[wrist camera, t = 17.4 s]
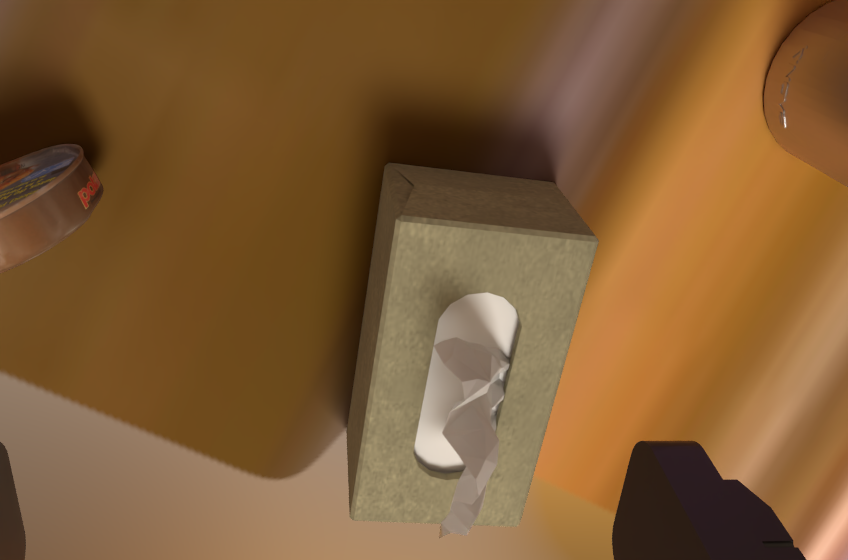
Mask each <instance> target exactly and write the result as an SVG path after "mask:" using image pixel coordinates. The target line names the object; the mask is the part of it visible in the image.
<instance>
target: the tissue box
mask: <svg viewBox="0 0 848 560" xmlns="http://www.w3.org/2000/svg"><path fill="white" fill-rule="evenodd" d="M598 242H599V241H598V239H597V238H596V236H595V235H594V234H593V232H592V231H591V230H590V228H589V227H588V226H587V225H586V223H585V222H584V221H583V219H582V218H581V217H580V216H579V214H578V213H577V212H576V210H575V209H574V208H573V207H572V205H571V204H570V203H569V201H568V200H567V199H566V197H565V196H564V195H563V194H562V192H561V191H560V190H559V188H558V187H557V186H556V185H555V183H554V182H547V181H539V180H531V179H522V178H514V177H506V176H497V175H489V174H481V173H472V172H464V171H456V170H447V169H439V168H430V167H422V166H414V165H405V164H397V163H388V164H387V165H385V167H384V174H383V181H382V188H381V195H380V202H379V209H378V216H377V223H376V230H375V237H374V244H373V251H372V258H371V265H370V272H369V279H368V286H367V293H366V300H365V307H364V314H363V321H362V328H361V335H360V342H359V349H358V356H357V363H356V370H355V377H354V383H353V390H352V397H351V404H350V411H349V418H348V425H347V455H348V482H349V507H350V518H351V519H352V520H355V521H380V522H405V523H430V524H441V526H440V535H439V538H441V537H443V536H445V535H447V534H449V533H456V534H461V535H467V534H468V532H469V531H470V529H471V527H472V525H480V526H505V527H517V526H518V525H519V524H520V520H521V518H522V514H523V510H524V507H525V503H526V500H527V496H528V492H529V489H530V485H531V482H532V478H533V475H534V471H535V467H536V464H537V460H538V457H539V453H540V449H541V446H542V442H543V439H544V435H545V432H546V428H547V424H548V421H549V417H550V414H551V410H552V406H553V403H554V399H555V396H556V392H557V389H558V385H559V381H560V378H561V374H562V371H563V367H564V363H565V360H566V356H567V353H568V349H569V346H570V342H571V338H572V335H573V331H574V328H575V324H576V320H577V317H578V313H579V310H580V306H581V303H582V299H583V295H584V292H585V288H586V285H587V281H588V277H589V274H590V270H591V267H592V263H593V260H594V256H595V252H596V249H597V245H598Z"/></svg>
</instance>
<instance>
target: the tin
mask: <svg viewBox="0 0 848 560" xmlns="http://www.w3.org/2000/svg"><path fill="white" fill-rule="evenodd" d="M102 194H103V186H102V184H101V182H100V180H99V179H98V177H97V175H96V174H95V172H94V170H93V169H92V167H91V166H90V164H89V163H88V161H87V159H86V158H85V156H84V151H83V149H82V147H81V146H79V145H77V144H61V145H56V146H51V147H48V148H44V149H41V150H39V151H36V152H32V153H30V154H27V155H24V156H22V157H19V158H17V159H14V160H12V161H10V162H6V163H4V164H2V165H0V273H3V272H5V271H8V270H10V269H12V268H14V267H17V266H19V265H21V264H23V263H25V262H27V261H29V260H31V259H33V258H35V257H36V256H38V255H40V254H42V253H44V252H46V251H47V250H49V249H50V248H52V247H54V246H55V245H57V244H58V243H60V242H61V241H63V240H64V239H66V238H67V237H68V236H69V235H71V234H72V233H73V232H75V231H76V230H77V229H78V228H79V227H81V226H82V225H83V224H84V223H85V222H86V221H87V219H88V218H89V217H90V215H91V213H92V211H93V210H94V208H95V207H96V205H97V204H98V202H99V201H100V199H101V197H102Z"/></svg>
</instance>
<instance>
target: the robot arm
mask: <svg viewBox="0 0 848 560" xmlns="http://www.w3.org/2000/svg"><path fill="white" fill-rule="evenodd" d="M764 112H765V117H766V120H767V124H768V127H769V130H770V131H771V133H772V135H773V136H774V138H775V140H776V141H777V142H778V143H779V144H780V145H781V146H782V147H783V148H784V149H785V150H786V151H787V152H789V153H791V154H792V155H794V156H796V157H797V158H799V159H801V160H803V161H804V162H806V163H808V164H809V165H811V166H813V167H815V168H816V169H818V170H820V171H822V172H823V173H825V174H827V175H828V176H830V177H831V178H833V179H835V180H836V181H838V182H840V183H842V184H843V185H845V186H847V187H848V0H834V1H832V2H829V3H827V4H825V5H824V6H822V7H821V8H819V9H817V10H816V11H814V12H813V13H811V14H810V15H809V16H808V17H806V18H805V19H804V20H803V21H802V22H801V23H800V24H799V25H797V26H796V27H795V28H794V30H793V31H792V32H791V33H790V35H789V36H788V37H787V38H786V40H785V41H784V42H783V43H782V45H781V47H780V49H779V51H778V52H777V54H776V56H775V58H774V60H773V62H772V64H771V67H770V70H769V73H768V76H767V79H766V85H765V91H764ZM25 541H26V540H25V531H24V526H23V521H22V517H21V512H20V508H19V503H18V498H17V494H16V489H15V484H14V480H13V475H12V471H11V466H10V461H9V457H8V453H7V450H6V448H5V446H4V445H3V444H2V443H1V442H0V560H24V559H25V549H26V542H25ZM612 545H613V555H614V560H806V559H805V557H804V556H803V554H802V553H801V551H800V550H799V548H795V547H794V545H793V540H792V538H791V537H790V535H789V534H788V532H787V531H786V529H785V528H784V526H783V525H782V523H781V522H780V520H779V519H778V517H777V516H776V514H775V513H774V511H773V510H772V509H771V507H769V506H768V505H767V504H766V503H765V502H763V501H762V500H761V499H760V498H759V497H757V496H756V495H755V494H754V493H753V492H751V491H750V490H749V489H748V488H747V487H745V486H744V485H743V484H742V483H741V482H739V481H738V480H723V479H722V478H721V476H720V474H719V473H718V471H717V470H716V468H715V466H714V465H713V463H712V462H711V460H710V459H709V457H708V455H707V454H706V452H705V451H704V449H703V448H702V446H701V445H700V444H698V443H697V442H695V441H640V442H638V443H637V444H636V445H635V446H634V448H633V451H632V454H631V457H630V461H629V465H628V469H627V473H626V477H625V481H624V485H623V489H622V493H621V497H620V501H619V505H618V509H617V513H616V517H615V521H614V525H613V533H612Z"/></svg>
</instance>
